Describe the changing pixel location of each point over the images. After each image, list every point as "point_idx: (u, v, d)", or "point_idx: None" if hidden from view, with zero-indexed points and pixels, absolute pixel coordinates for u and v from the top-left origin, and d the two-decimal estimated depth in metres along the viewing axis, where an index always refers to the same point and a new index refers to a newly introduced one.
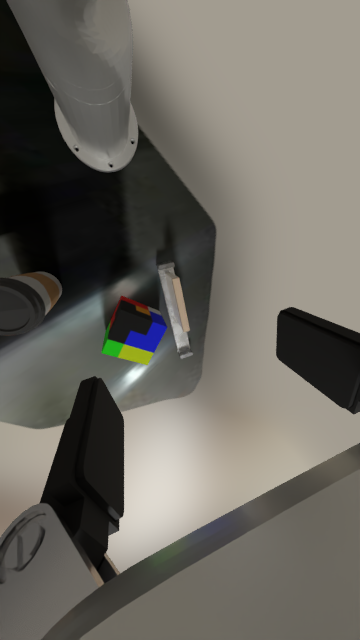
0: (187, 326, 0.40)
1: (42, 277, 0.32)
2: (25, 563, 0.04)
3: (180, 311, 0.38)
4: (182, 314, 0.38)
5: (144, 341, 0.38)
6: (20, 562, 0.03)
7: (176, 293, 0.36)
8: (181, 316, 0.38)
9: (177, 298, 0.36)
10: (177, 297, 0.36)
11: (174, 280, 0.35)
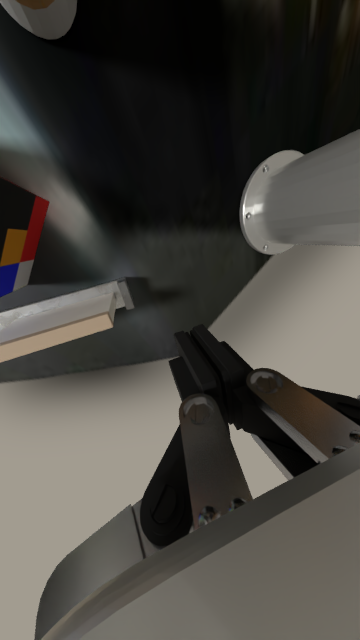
0: None
1: None
2: (196, 422, 0.05)
3: (27, 340, 0.16)
4: (20, 346, 0.16)
5: None
6: (196, 419, 0.05)
7: (75, 326, 0.16)
8: (13, 345, 0.15)
9: (63, 329, 0.16)
10: (65, 329, 0.16)
11: (105, 318, 0.17)
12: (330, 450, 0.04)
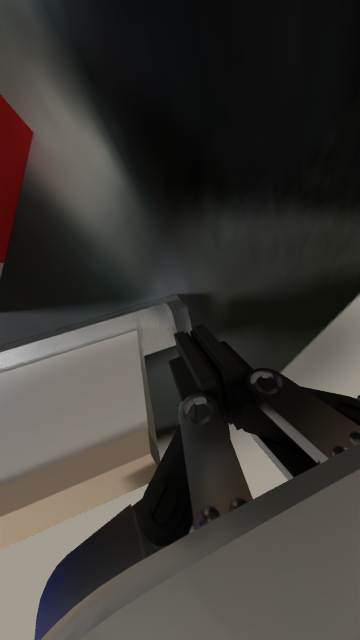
0: None
1: None
2: (196, 421, 0.05)
3: None
4: None
5: None
6: (196, 419, 0.05)
7: (47, 502, 0.05)
8: None
9: (4, 520, 0.05)
10: (13, 517, 0.05)
11: (143, 464, 0.05)
12: (330, 450, 0.04)
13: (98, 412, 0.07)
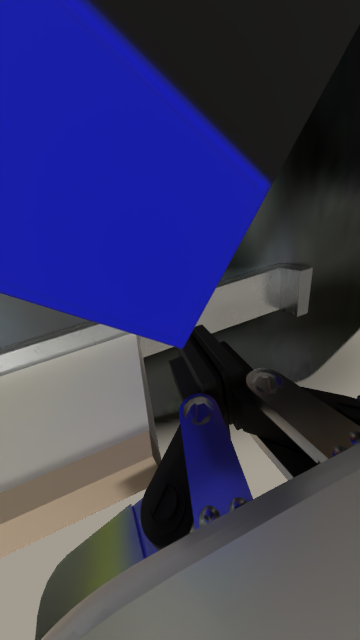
0: None
1: None
2: (196, 422, 0.05)
3: None
4: None
5: None
6: (196, 419, 0.05)
7: (48, 508, 0.05)
8: None
9: (3, 527, 0.05)
10: (13, 525, 0.05)
11: (145, 466, 0.05)
12: (330, 450, 0.04)
13: (98, 415, 0.07)
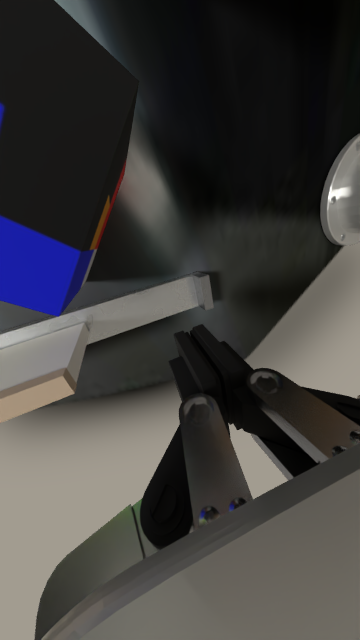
0: None
1: None
2: (196, 421, 0.05)
3: None
4: None
5: None
6: (196, 419, 0.05)
7: (6, 400, 0.10)
8: None
9: None
10: None
11: (60, 382, 0.10)
12: (330, 450, 0.04)
13: (42, 365, 0.12)
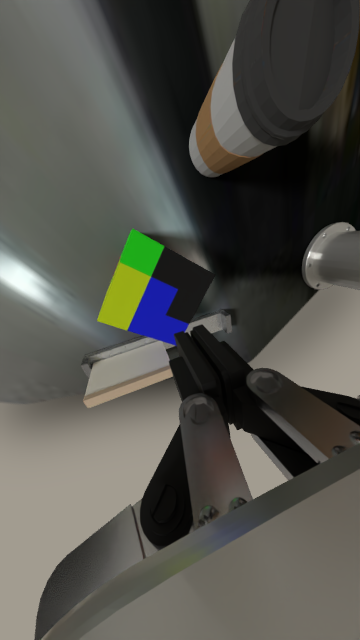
0: (95, 403, 0.24)
1: None
2: (196, 422, 0.05)
3: (123, 387, 0.24)
4: (118, 391, 0.24)
5: (152, 313, 0.21)
6: (196, 419, 0.05)
7: (152, 376, 0.24)
8: (114, 391, 0.24)
9: (144, 379, 0.24)
10: (146, 379, 0.24)
11: None
12: (330, 450, 0.04)
13: (157, 363, 0.27)
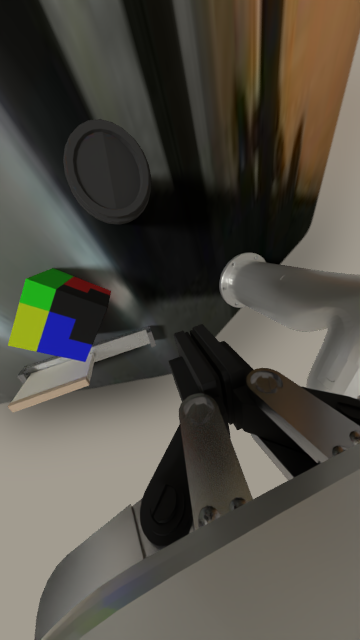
0: (19, 408, 0.29)
1: None
2: (196, 421, 0.05)
3: (42, 395, 0.29)
4: (38, 398, 0.29)
5: (56, 338, 0.26)
6: (196, 419, 0.05)
7: (68, 386, 0.30)
8: (35, 398, 0.29)
9: (61, 388, 0.30)
10: (62, 388, 0.30)
11: (84, 381, 0.31)
12: (330, 450, 0.04)
13: (77, 374, 0.32)
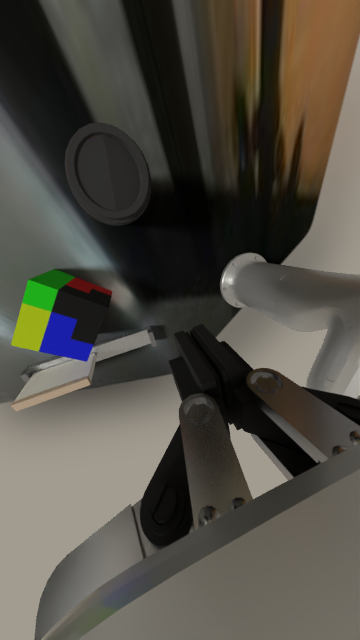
0: (22, 407, 0.30)
1: None
2: (196, 422, 0.05)
3: (45, 394, 0.30)
4: (40, 397, 0.30)
5: (58, 337, 0.27)
6: (196, 419, 0.05)
7: (70, 385, 0.30)
8: (37, 397, 0.30)
9: (63, 388, 0.30)
10: (64, 387, 0.30)
11: (86, 380, 0.31)
12: (330, 450, 0.04)
13: (79, 374, 0.33)
